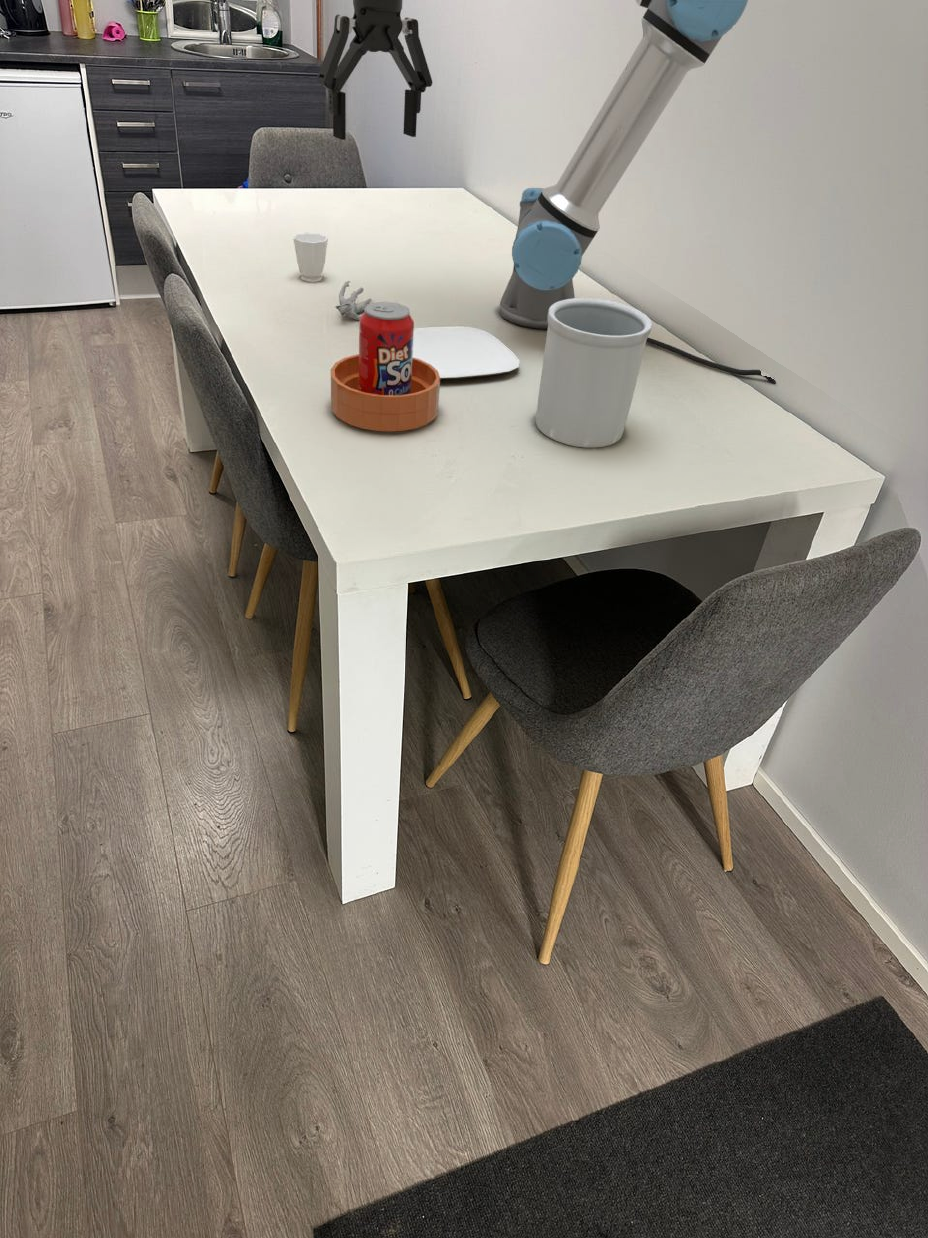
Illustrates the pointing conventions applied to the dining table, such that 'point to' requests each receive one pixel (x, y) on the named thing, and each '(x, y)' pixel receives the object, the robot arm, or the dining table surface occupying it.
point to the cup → (310, 255)
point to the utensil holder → (590, 370)
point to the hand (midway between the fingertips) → (375, 136)
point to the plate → (462, 352)
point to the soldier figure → (351, 303)
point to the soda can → (385, 349)
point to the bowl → (384, 398)
